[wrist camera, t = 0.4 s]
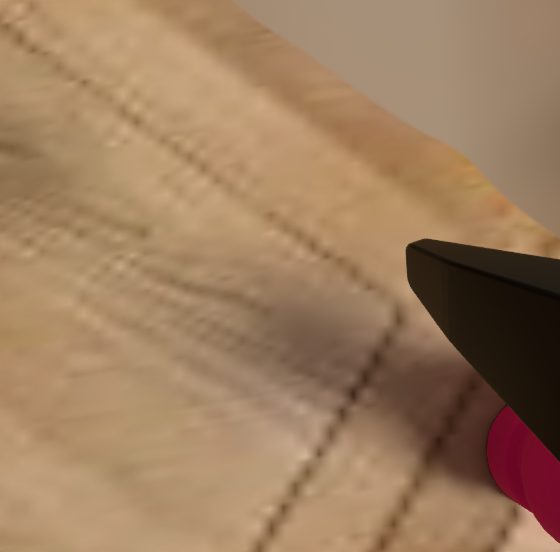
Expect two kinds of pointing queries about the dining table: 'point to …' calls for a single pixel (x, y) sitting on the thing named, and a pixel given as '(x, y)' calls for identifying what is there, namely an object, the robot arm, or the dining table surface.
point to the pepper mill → (525, 469)
